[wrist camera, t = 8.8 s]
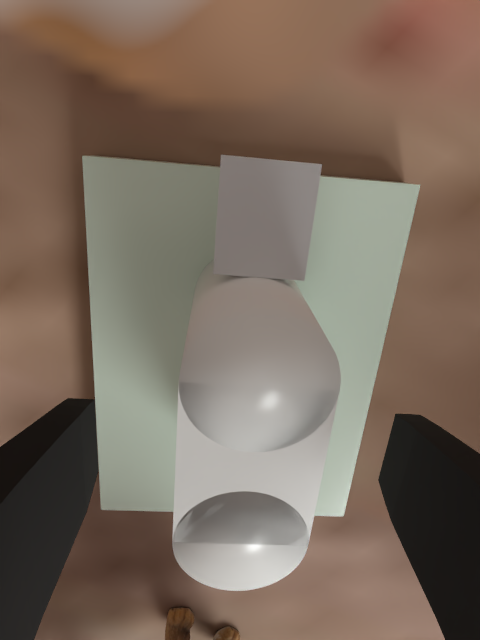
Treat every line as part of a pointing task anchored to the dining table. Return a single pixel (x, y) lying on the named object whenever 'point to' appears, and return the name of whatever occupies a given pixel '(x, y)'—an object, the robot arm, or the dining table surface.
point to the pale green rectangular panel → (177, 297)
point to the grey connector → (253, 386)
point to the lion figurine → (183, 621)
